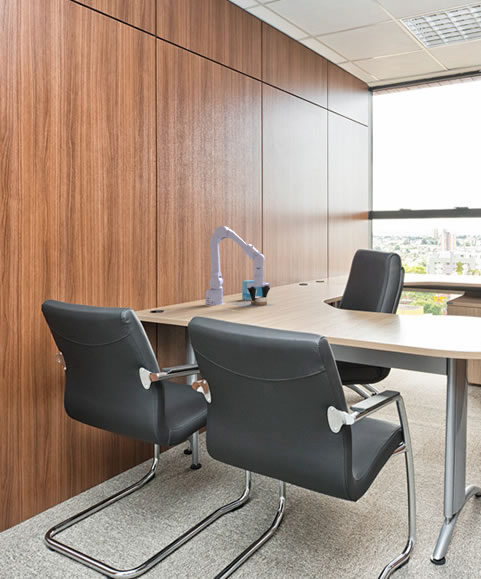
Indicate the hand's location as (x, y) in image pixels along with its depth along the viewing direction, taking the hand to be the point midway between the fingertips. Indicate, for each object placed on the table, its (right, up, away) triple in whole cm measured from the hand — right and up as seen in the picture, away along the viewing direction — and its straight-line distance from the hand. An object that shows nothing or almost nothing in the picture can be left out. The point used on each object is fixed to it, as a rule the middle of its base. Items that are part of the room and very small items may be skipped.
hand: (258, 300), depth 305 cm
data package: (-3, -1, +24) cm, 24 cm away
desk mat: (-3, -3, +2) cm, 5 cm away
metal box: (0, -3, 0) cm, 3 cm away
